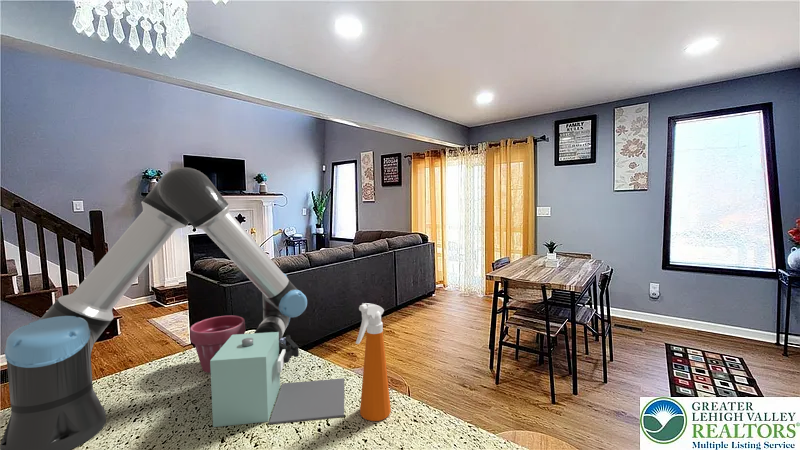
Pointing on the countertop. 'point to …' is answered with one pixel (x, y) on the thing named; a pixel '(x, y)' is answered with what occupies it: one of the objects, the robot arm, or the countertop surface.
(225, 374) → the box
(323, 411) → the rubber mat
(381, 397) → the spray bottle
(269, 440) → the countertop surface
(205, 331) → the plant pot
